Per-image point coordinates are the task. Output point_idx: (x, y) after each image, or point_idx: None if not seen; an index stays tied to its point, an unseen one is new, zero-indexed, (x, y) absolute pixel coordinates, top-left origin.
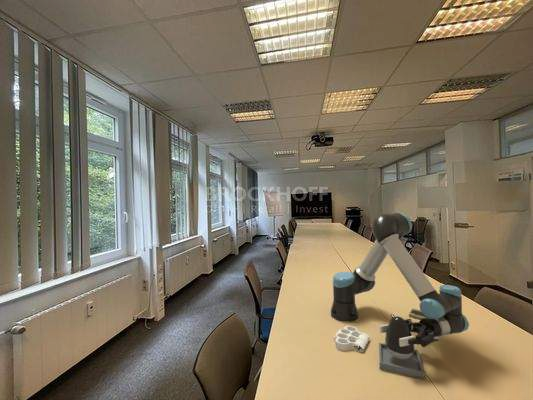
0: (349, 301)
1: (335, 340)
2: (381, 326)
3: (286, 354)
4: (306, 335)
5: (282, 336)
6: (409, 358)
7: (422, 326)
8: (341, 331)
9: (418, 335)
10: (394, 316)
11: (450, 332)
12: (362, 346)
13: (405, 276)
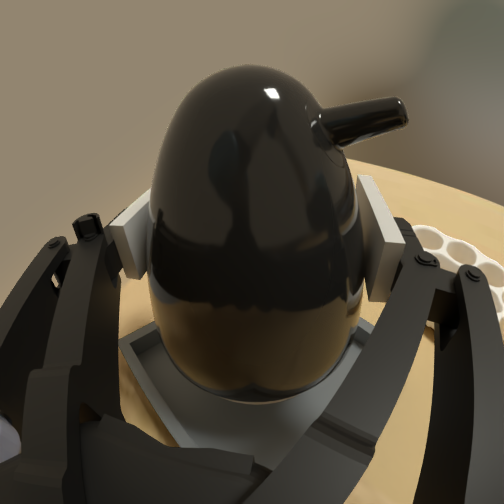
0: None
1: (429, 227)
2: (359, 176)
3: (391, 180)
4: (471, 223)
5: (456, 195)
6: (242, 429)
7: (57, 478)
8: (498, 275)
9: (85, 264)
10: (346, 105)
11: None
12: None
13: None
